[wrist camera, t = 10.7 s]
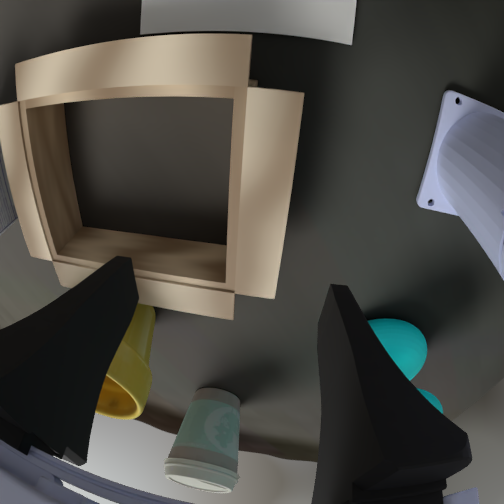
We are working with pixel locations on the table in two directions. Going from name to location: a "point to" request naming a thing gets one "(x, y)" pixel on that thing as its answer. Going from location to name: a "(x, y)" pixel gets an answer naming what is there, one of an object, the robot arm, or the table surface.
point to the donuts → (404, 348)
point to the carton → (147, 246)
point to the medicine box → (5, 199)
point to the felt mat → (253, 17)
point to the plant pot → (129, 369)
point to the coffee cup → (207, 443)
